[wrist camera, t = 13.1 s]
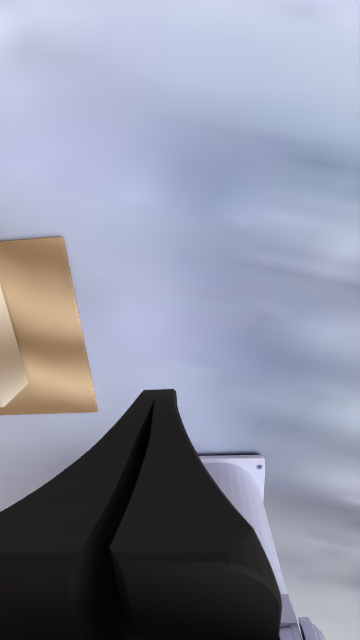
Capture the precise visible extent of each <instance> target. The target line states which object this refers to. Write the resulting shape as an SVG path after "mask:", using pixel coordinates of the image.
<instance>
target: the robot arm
mask: <svg viewBox="0 0 360 640" xmlns="http://www.w3.org/2000/svg"><path fill="white" fill-rule="evenodd" d="M264 476H265V459H264V457H263V456H262V455H227V456H198V455H197V453H196V451H195V449H194V447H193V445H192V443H191V441H190V439H189V437H188V435H187V433H186V430H185V428H184V425H183V423H182V420H181V417H180V414H179V411H178V407H177V396H176V391H175V390H174V389H162V390H144V391H143V392H142V393H141V394H140V395H139V396H138V398H137V399H136V400H135V401H134V403H133V404H132V405H131V406H130V408H129V409H128V410H127V411H126V412H125V414H124V415H123V416H122V417H121V418H120V419H119V420H118V422H117V423H116V424H115V425H114V426H113V427H112V428H111V429H110V430H109V431H108V432H107V433H106V434H105V435H104V436H103V437H102V438H101V439H100V440H99V441H98V442H97V443H96V444H95V445H94V446H93V447H92V448H91V449H90V450H89V451H88V452H86V453H85V454H84V455H83V456H82V457H81V458H79V459H78V460H77V461H76V462H74V463H73V464H72V465H70V466H69V467H68V468H66V469H65V470H64V471H62V472H61V473H60V474H59V475H57V476H56V477H55V478H53V479H52V480H50V481H49V482H48V483H46V484H45V485H43V486H42V487H40V488H39V489H37V490H36V491H34V492H33V493H31V494H29V495H28V496H26V497H25V498H23V499H22V500H20V501H18V502H17V503H15V504H13V505H12V506H10V507H8V508H7V509H5V510H3V511H1V512H0V640H302V638H303V640H326V639H325V637H324V635H323V633H322V632H321V631H320V630H319V629H318V628H317V627H316V626H315V625H314V624H312V622H311V620H310V619H309V618H308V617H300V618H298V619H299V625H300V629H301V634H302V637H301V634H300V631H299V627H298V623H297V620H296V616H295V612H294V609H293V605H292V601H291V597H290V595H289V594H287V592H286V588H285V584H284V580H283V577H282V573H281V569H280V565H279V561H278V558H277V554H276V550H275V546H274V542H273V539H272V535H271V531H270V527H269V523H268V520H267V516H266V512H265V508H264V504H263V496H264Z"/></svg>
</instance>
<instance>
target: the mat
mask: <svg viewBox="0 0 360 640" xmlns="http://www.w3.org/2000/svg"><path fill="white" fill-rule="evenodd" d="M0 285H1V289H2V292H3V296H4V299H5V303H6V306H7V310H8V313H9V317H10V320H11V323H12V327H13V330H14V334H15V337H16V341H17V344H18V348H19V351H20V355H21V358H22V362H23V365H24V368H25V372H26V375H27V379H28V382H29V383H28V384H27V385H26V386H25V387H24V388H23V389H22V390H21V391H20V392H19V393H18V394H17V395H16V396H15V397H14V398H13V399H12V400H11V401H10V402H9V403H8V404H7V405H6V406H5V407H0V415H20V414H52V413H84V412H97V410H98V408H97V403H96V398H95V393H94V388H93V383H92V378H91V373H90V368H89V363H88V358H87V353H86V348H85V343H84V338H83V333H82V328H81V323H80V318H79V313H78V308H77V303H76V298H75V293H74V288H73V283H72V278H71V273H70V268H69V263H68V258H67V253H66V248H65V243H64V238H63V237H54V238H39V239H25V240H11V241H0Z"/></svg>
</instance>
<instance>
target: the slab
mask: <svg viewBox="0 0 360 640" xmlns="http://www.w3.org/2000/svg"><path fill="white" fill-rule="evenodd" d="M28 383H29V382H28V379H27V375H26V372H25V368H24V365H23V362H22V358H21V355H20V351H19V348H18V344H17V341H16V337H15V334H14V330H13V327H12V323H11V320H10V317H9V313H8V310H7V306H6V303H5V299H4V296H3V292H2V289H1V285H0V407H5V406H6V405H7V404H8V403H9V402H10V401H11V400H12V399H13V398H14V397H15V396H16V395H17V394H18V393H19V392H20V391H21V390H22V389H23V388H24V387H25V386H26V385H27V384H28Z"/></svg>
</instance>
